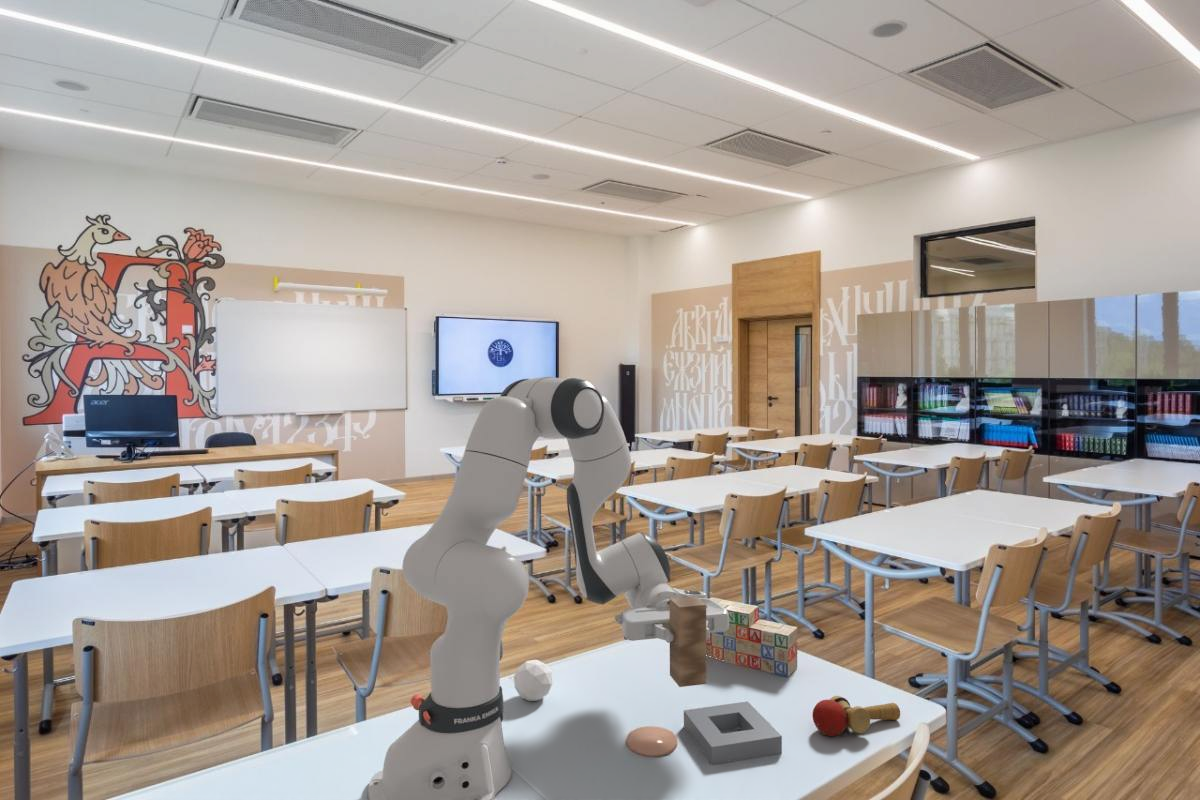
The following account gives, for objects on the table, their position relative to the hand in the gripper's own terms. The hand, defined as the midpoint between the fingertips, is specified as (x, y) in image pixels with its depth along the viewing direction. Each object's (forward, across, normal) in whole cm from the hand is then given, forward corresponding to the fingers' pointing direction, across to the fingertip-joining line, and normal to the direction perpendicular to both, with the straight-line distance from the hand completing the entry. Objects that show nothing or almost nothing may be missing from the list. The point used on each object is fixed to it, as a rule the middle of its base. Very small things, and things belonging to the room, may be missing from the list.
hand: (689, 636), depth 120 cm
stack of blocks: (-30, +26, +19) cm, 44 cm away
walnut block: (-1, 0, +8) cm, 8 cm away
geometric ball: (-25, -24, +20) cm, 40 cm away
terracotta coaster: (-3, -6, +20) cm, 21 cm away
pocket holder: (0, +8, +19) cm, 21 cm away
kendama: (+2, +32, +20) cm, 38 cm away
